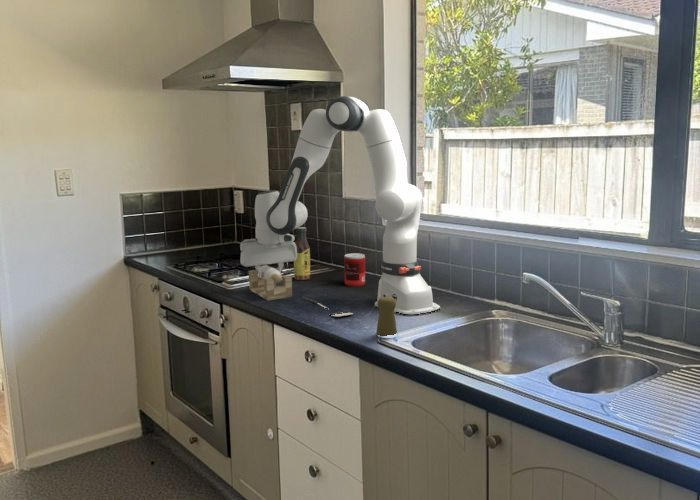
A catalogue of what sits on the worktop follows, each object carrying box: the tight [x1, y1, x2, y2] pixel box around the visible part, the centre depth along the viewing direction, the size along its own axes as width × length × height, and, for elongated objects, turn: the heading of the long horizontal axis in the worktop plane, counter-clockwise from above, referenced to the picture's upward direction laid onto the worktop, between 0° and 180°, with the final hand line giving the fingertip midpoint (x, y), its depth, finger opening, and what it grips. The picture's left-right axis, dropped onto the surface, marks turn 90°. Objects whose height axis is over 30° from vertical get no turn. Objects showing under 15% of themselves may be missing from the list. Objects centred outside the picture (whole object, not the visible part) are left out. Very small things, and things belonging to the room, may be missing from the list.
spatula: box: [301, 296, 354, 318], centre depth 218 cm, size 6×29×2 cm, turn 30°
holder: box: [248, 269, 293, 301], centre depth 236 cm, size 18×9×7 cm, turn 29°
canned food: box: [343, 252, 366, 288], centre depth 247 cm, size 8×8×11 cm
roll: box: [259, 264, 282, 285], centre depth 235 cm, size 16×5×5 cm, turn 29°
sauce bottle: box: [293, 226, 311, 281], centre depth 256 cm, size 7×6×20 cm
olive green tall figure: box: [376, 297, 398, 336], centre depth 188 cm, size 6×6×11 cm
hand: (269, 276), depth 235 cm, fingers closed on roll, 5 cm apart
